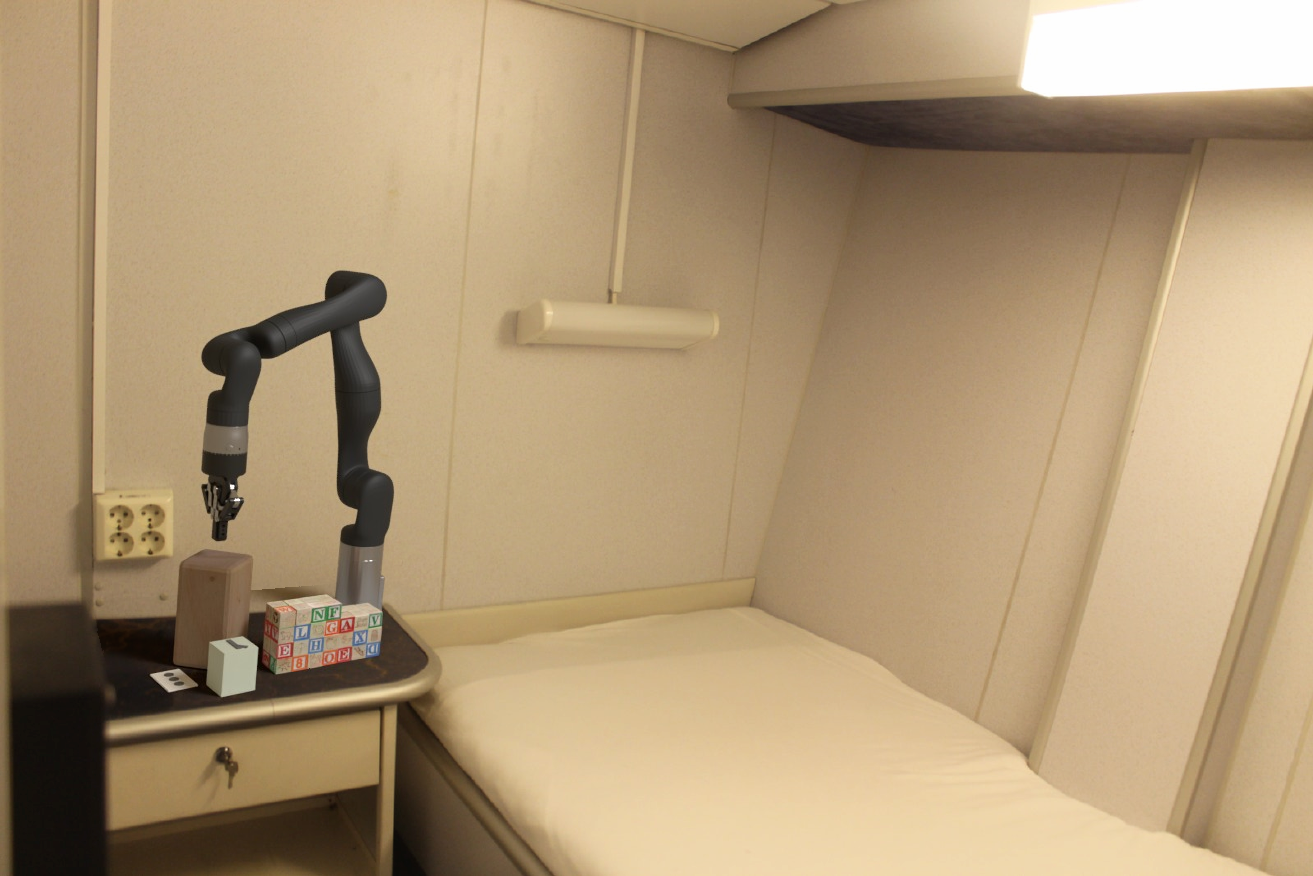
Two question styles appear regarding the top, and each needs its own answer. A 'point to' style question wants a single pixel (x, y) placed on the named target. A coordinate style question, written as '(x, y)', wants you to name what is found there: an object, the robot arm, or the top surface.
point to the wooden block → (211, 603)
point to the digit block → (232, 666)
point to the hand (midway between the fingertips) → (218, 539)
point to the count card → (173, 680)
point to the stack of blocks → (318, 633)
